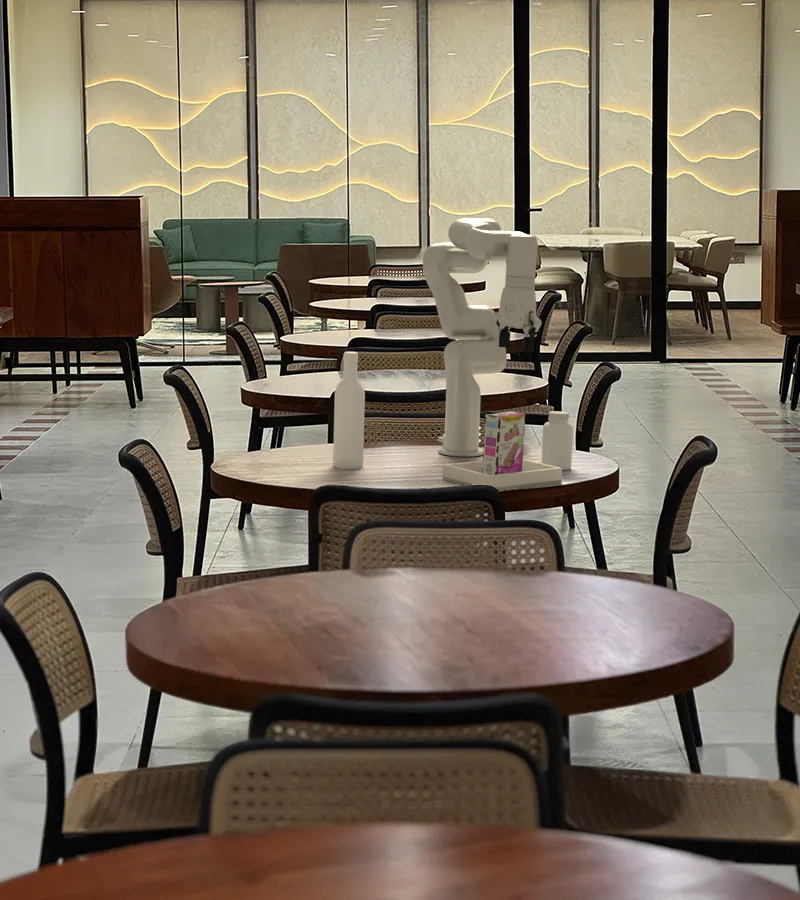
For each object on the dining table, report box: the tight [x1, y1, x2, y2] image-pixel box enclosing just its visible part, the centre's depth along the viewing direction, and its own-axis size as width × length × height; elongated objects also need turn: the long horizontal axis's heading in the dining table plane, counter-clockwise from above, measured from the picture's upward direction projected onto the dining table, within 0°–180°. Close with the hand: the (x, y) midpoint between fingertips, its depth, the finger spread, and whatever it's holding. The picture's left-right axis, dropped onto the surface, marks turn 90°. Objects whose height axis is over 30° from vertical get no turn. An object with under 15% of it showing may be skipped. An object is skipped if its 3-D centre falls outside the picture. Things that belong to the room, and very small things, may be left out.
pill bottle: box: [541, 410, 574, 471], centre depth 417 cm, size 8×8×15 cm
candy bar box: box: [482, 411, 526, 475], centre depth 395 cm, size 11×5×16 cm, turn 140°
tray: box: [442, 458, 563, 492], centre depth 396 cm, size 18×24×4 cm
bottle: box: [332, 351, 366, 470], centre depth 408 cm, size 8×8×30 cm
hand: (516, 349), depth 405 cm, fingers open, 9 cm apart
